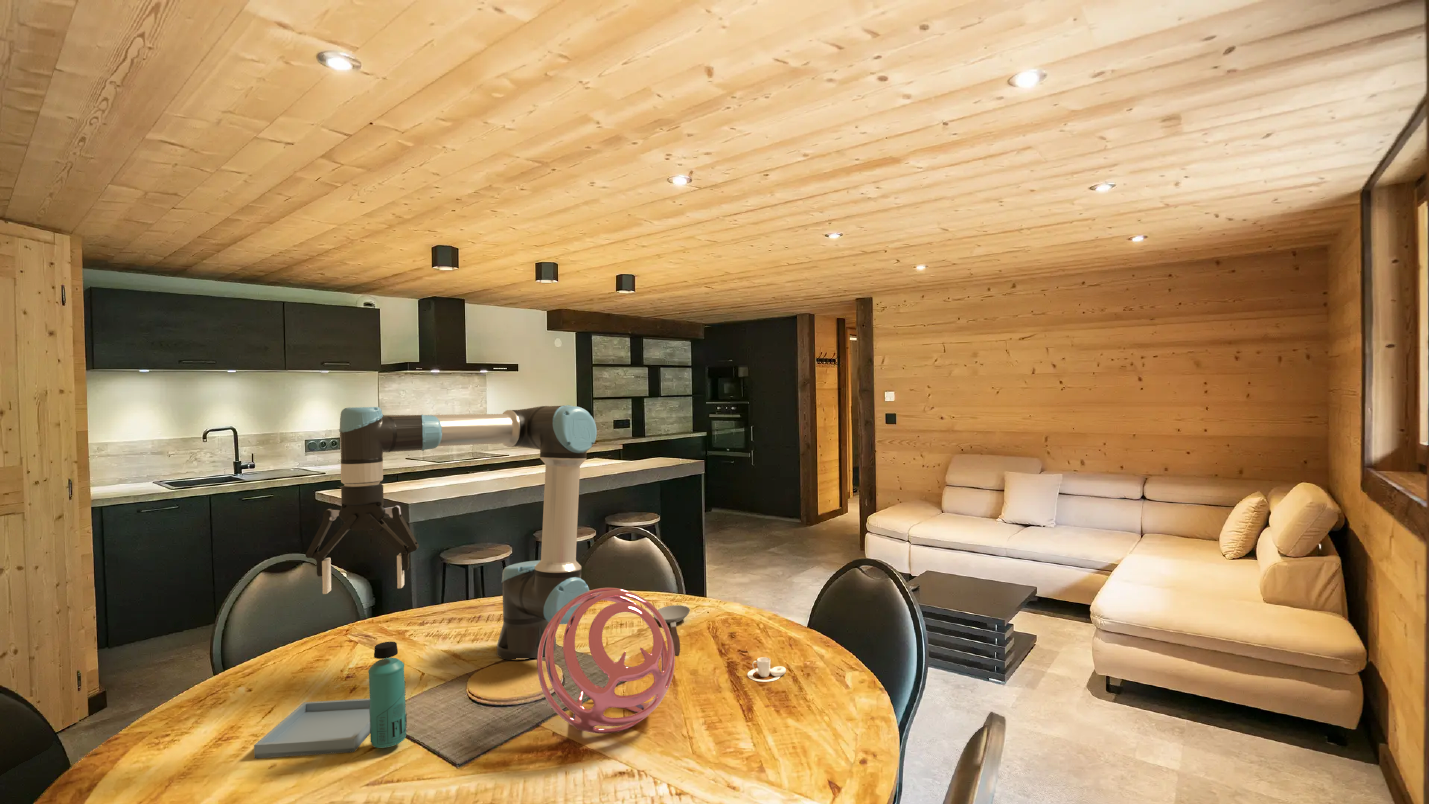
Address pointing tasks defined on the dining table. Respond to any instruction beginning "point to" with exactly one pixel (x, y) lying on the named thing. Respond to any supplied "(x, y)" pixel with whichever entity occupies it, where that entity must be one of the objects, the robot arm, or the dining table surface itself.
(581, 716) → the pink openwork sphere
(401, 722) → the beverage bottle
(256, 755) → the tray
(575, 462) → the robot arm
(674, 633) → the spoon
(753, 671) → the teacup and saucer
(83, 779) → the dining table surface
